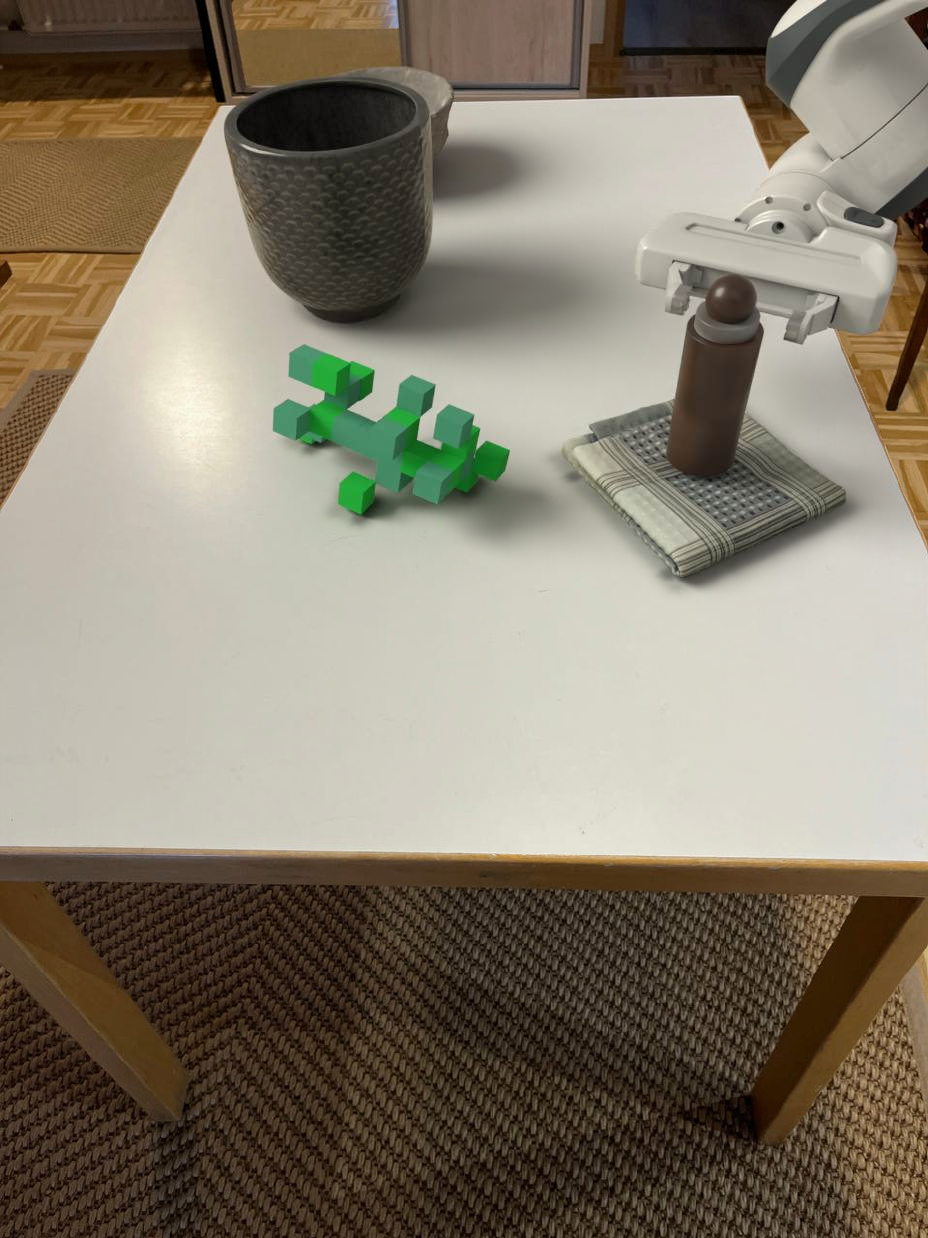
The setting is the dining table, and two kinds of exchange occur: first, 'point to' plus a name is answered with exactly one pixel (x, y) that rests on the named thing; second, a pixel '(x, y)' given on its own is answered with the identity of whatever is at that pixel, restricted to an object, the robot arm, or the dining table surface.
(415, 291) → the dining table surface
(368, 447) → the building blocks
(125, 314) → the dining table surface
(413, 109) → the planter
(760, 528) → the dish towel
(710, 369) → the pepper mill
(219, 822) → the dining table surface
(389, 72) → the bowl
